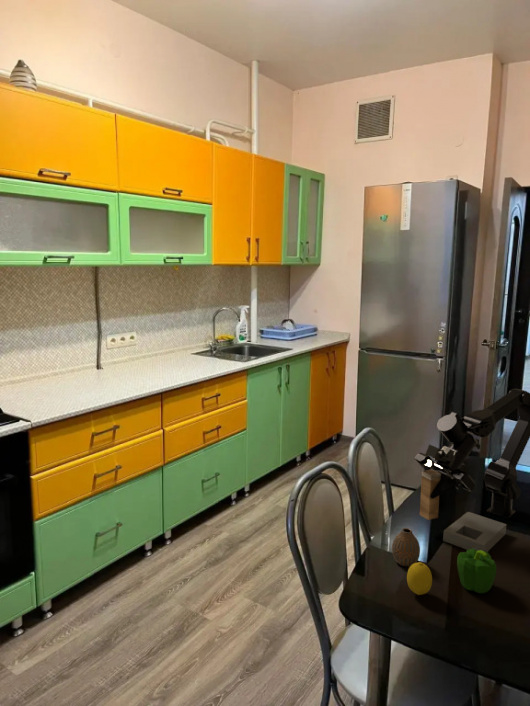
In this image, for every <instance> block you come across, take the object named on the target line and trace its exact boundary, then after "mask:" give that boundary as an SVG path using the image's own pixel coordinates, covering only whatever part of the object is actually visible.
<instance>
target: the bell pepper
mask: <svg viewBox="0 0 530 706" xmlns="http://www.w3.org/2000/svg"><path fill="white" fill-rule="evenodd" d="M456 561H457V562H456V565H457V572H458V577H459V581H460V584H461V586H462V587H463V588H464V589H466V590H468V591H474V592H475V593H478V594H485V593H488V592H489V591H490V590H491V589H492V586H493V584H494V581H495V579H496V576H497V565H496V562H495V560H494V559H492V556H491V555H490V553H489V551H488V552H484V551H482V550H479V551H478V550H475V549H473V548H472V549H469V550H466V552H463V551H461V552H459V554H458V555H457V559H456Z"/></svg>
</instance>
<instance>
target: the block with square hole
mask: <svg viewBox="0 0 530 706" xmlns="http://www.w3.org/2000/svg"><path fill="white" fill-rule="evenodd" d="M506 533H507V523H503V522H501V521H497V520H494V519H492V518H488V517H486V516H482V515H479V514H476V513H473V512H471V511H467V512H466V513H464V514H463V515H462V516H461V517H459V518H458V519H456V520H455V521H454V522H452V523H451V524H450V525H449V526H448V527H446V528H445V529H443V534H442V535H443V537H442V542H446V543H448V544H451V545H452V546H453V545H454V546H456V547H458V548H461V549H464V550H466V551H467V550H469V549H472V548H473V549H475V550H478V551H479V550H482V551H484V552H488V553H489V551H490V550H491V549H492V548H493V547H494V546H495V545H496V544H497V543H498V542H499V541H500V540H501V539H502V538H503V537H504V536H505V535H506Z"/></svg>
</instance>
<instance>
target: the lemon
mask: <svg viewBox="0 0 530 706" xmlns="http://www.w3.org/2000/svg"><path fill="white" fill-rule="evenodd" d="M406 581H407V586H408V588H409V589H410V591H412V593H414V594H416V595H417V596H420V595H425V594H427V593H428V592H429V591H430V590H431V587H432V584H433V576H432V571H431V569H430V568H429V567H428V566H427V565H426V563H424V562H421V561H419V562H418V561H417V562H416V563H414V564H412V565H411V566H409V567H408V570H407V574H406Z"/></svg>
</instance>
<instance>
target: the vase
mask: <svg viewBox="0 0 530 706" xmlns="http://www.w3.org/2000/svg"><path fill="white" fill-rule="evenodd" d="M391 553H392V557H393V559H394V561H396V563H397V564H398V565H400V566H402V567H407V568H409V567H410V566H411V565H412V564H414V563H417V562H418V561H419V559H420V556H421V546H420V543H419V540H418V539H417V537H416V536H415V535H414V533H413V531H412V529H410V528H407V527H405V528H402V529H401V531H400V532H399V533H398V534H397V535H396V536H395V537H394V539H393V542H392V544H391Z"/></svg>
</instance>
